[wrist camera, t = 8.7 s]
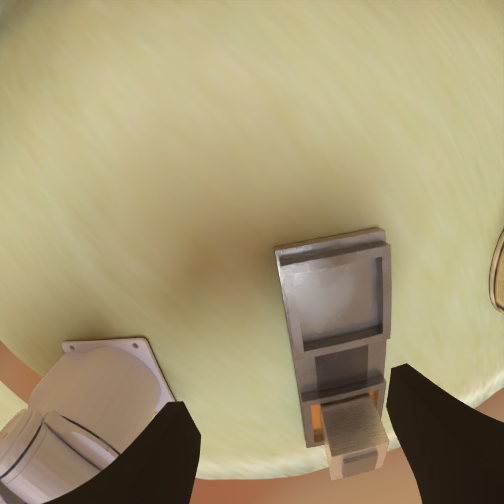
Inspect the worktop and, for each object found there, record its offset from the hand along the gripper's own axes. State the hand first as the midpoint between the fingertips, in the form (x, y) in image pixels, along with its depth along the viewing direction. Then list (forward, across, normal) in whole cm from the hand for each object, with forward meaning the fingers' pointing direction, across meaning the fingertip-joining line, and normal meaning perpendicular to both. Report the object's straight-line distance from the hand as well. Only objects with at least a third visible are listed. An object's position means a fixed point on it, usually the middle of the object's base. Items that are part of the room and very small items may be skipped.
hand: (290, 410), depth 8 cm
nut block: (+9, -4, +12) cm, 15 cm away
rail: (+10, -4, +7) cm, 13 cm away
